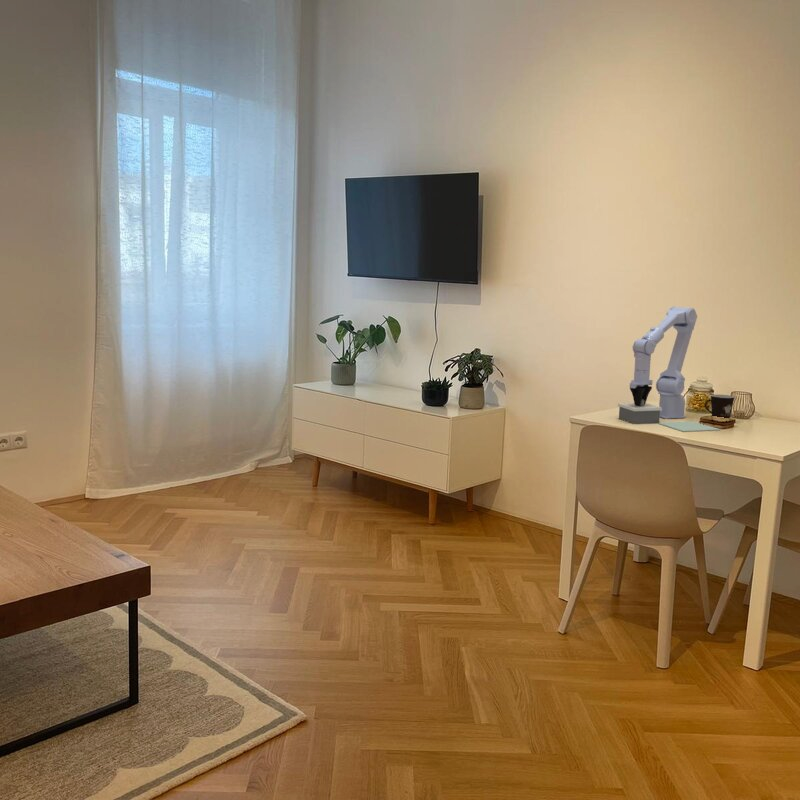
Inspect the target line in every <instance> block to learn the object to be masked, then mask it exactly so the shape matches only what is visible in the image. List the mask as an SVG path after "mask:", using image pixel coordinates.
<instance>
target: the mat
mask: <svg viewBox="0 0 800 800" xmlns="http://www.w3.org/2000/svg"><path fill="white" fill-rule="evenodd" d="M700 423H701V422H697V421H674V422H673V421H671V422H670V421H669V422H667V421H666V422H659V423H657V424H658V425H660V426H663V427H667V428H670V429H673V430H676V431H678V432H679V431H680V432H681V433H690V432H691V433H692V432H712V431H713V432H714V431H715V432H716V431H718V432H719V431H721V428H717V427H715V426H714V427H713V426H711V425H708V424H707V425H706V424H704V425H703V423H701V424H700Z"/></svg>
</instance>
